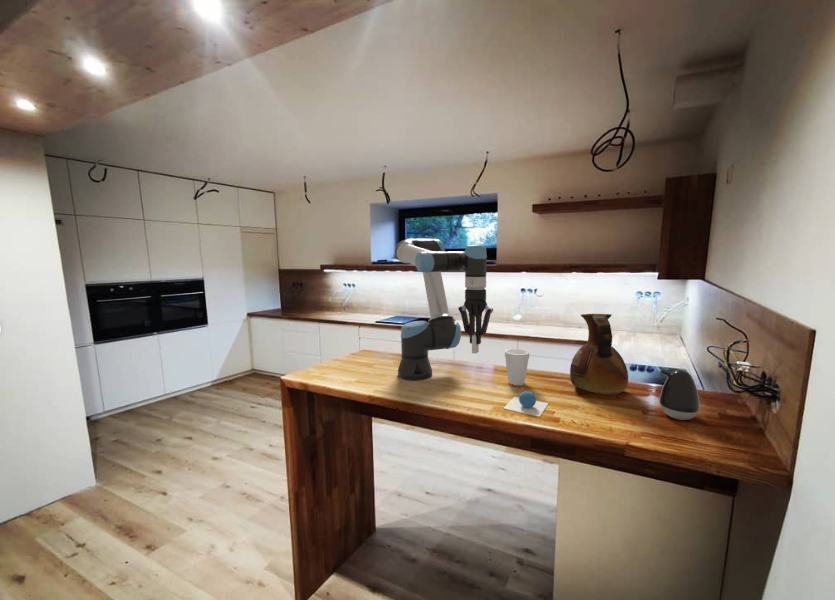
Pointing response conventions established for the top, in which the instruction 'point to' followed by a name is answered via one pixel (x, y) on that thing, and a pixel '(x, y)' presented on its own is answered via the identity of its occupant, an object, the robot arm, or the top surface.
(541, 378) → the top surface
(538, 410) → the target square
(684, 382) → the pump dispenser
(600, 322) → the ceramic pitcher
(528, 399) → the ball
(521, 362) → the foam cup
